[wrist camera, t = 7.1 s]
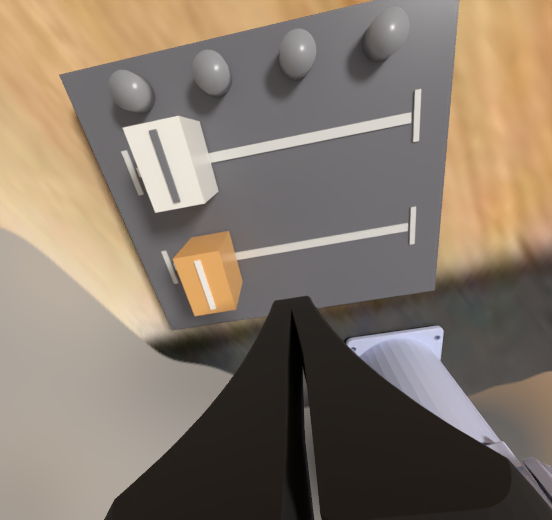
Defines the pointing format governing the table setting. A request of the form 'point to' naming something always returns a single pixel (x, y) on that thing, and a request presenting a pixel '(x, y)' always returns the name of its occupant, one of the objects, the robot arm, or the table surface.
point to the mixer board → (292, 152)
